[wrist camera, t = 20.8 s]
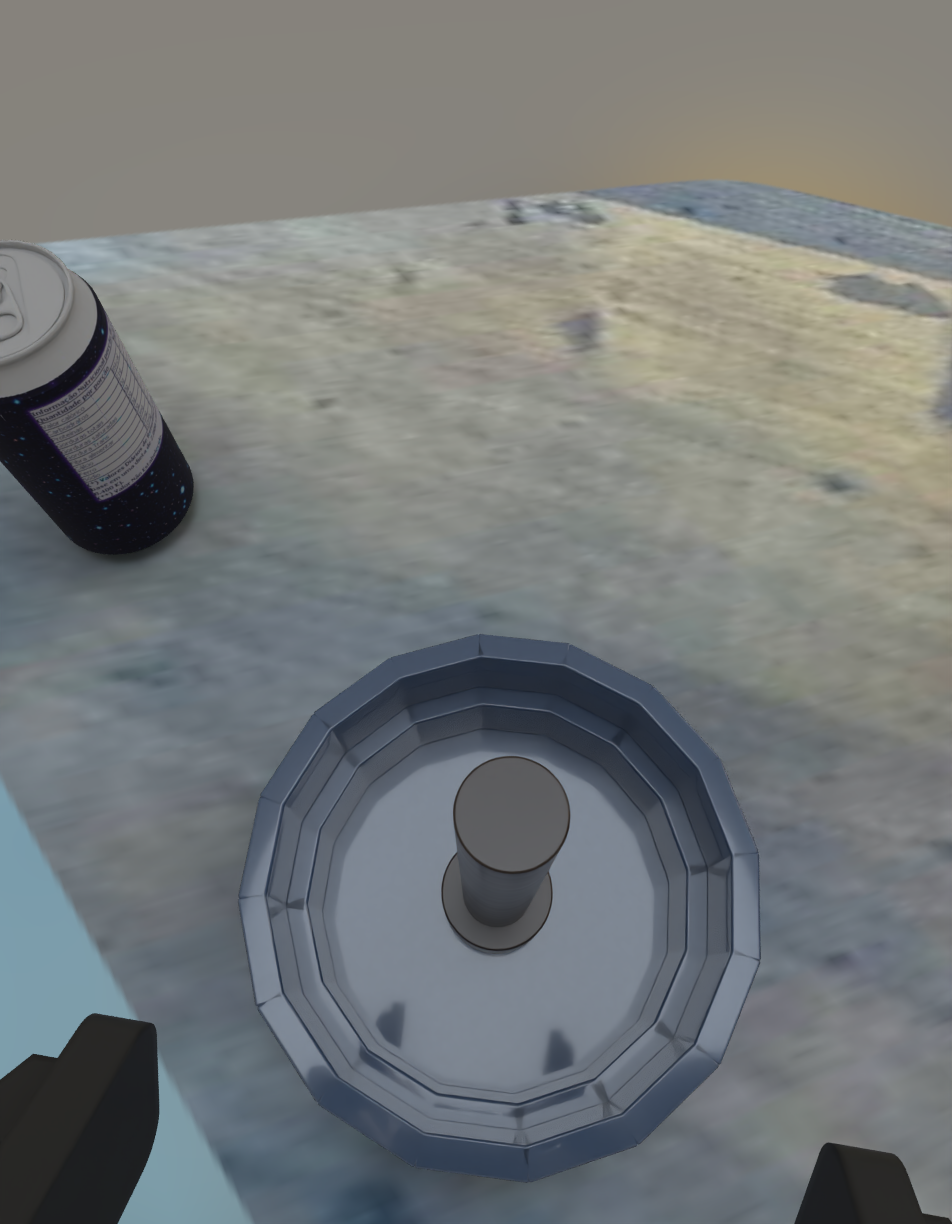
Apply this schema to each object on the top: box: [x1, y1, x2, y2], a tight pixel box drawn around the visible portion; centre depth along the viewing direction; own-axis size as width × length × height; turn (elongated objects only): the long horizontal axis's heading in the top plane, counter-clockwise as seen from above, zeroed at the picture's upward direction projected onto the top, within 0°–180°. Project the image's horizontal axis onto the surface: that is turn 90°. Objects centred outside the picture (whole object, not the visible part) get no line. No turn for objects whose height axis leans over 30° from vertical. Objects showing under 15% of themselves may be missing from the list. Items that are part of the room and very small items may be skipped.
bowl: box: [238, 634, 761, 1183], centre depth 28 cm, size 15×15×6 cm
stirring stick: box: [441, 756, 570, 954], centre depth 23 cm, size 4×4×15 cm
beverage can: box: [0, 240, 193, 555], centre depth 32 cm, size 6×6×12 cm
